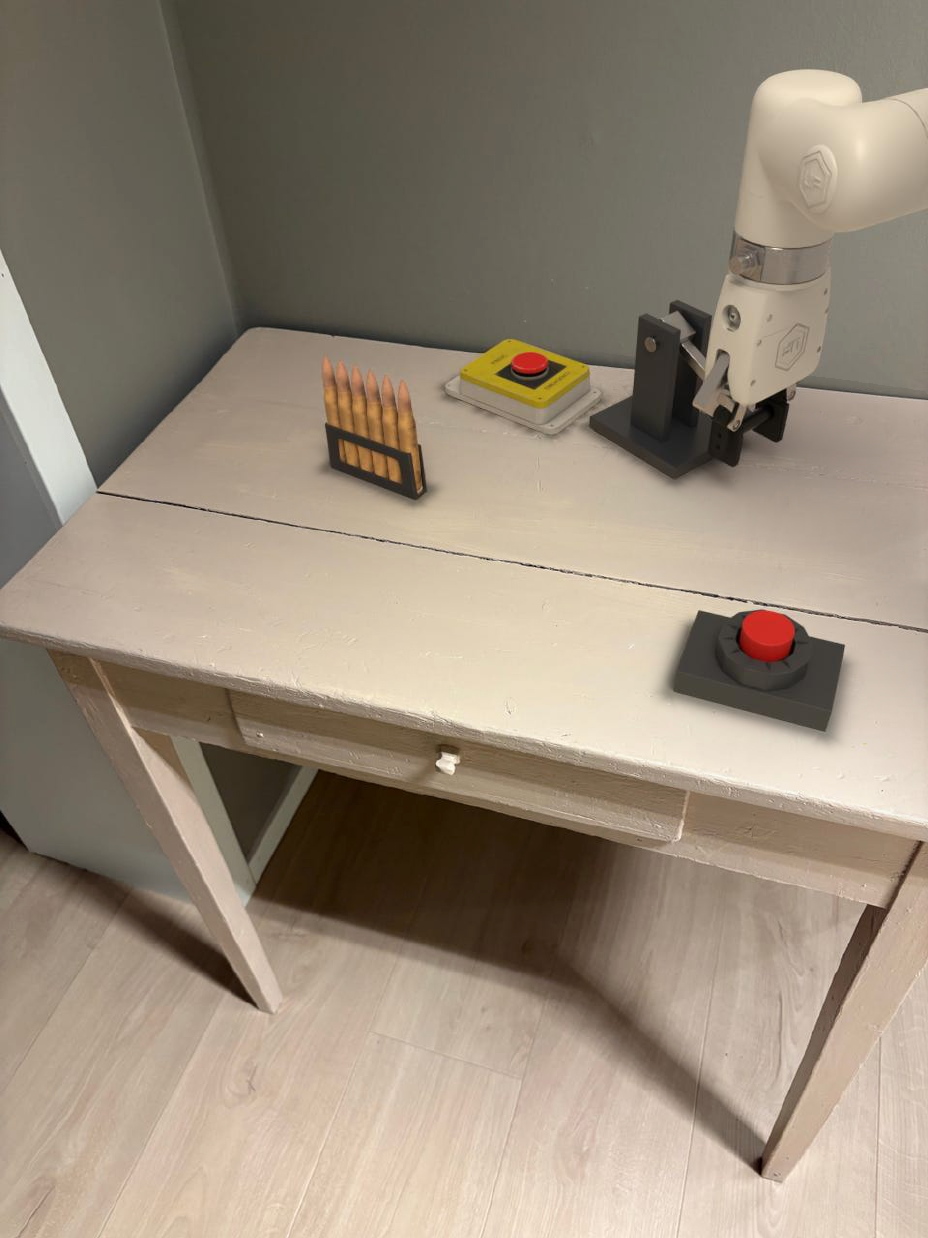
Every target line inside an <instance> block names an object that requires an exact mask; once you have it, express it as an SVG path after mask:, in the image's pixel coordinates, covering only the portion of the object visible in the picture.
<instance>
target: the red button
mask: <svg viewBox="0 0 928 1238" xmlns="http://www.w3.org/2000/svg"><path fill="white" fill-rule="evenodd" d="M782 614H783V613H780V612H778V611H773V610H767V609H763V611H756V612H753V613H751V614H749V615H748V616H747V617H746V618H745V619H744V621H743V625H742V630H741V635H740V640H739V643H740V647H741V649H742V650H743V651H744V653H745V654H747V655H748V656H749V657H751V658H753V659H757V660H761V661H765V662H775V661H779V660H782V659H783V658H785V657H786V656H787V655H788V654H789V652H790V649H791V645H792V641H793V637H794V633H795V629H794V626H793V624H792V622H791V621H790V620H789V619H788V618H786V617H785V616H783V615H782Z"/></svg>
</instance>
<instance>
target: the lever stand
mask: <svg viewBox="0 0 928 1238" xmlns="http://www.w3.org/2000/svg"><path fill="white" fill-rule="evenodd" d="M668 307H669V309H668V315H669V314H672V313H674V312H676V311H678V312H679V313H680V314H681V315H682V316H683V318H684V319H685V320H686V321H687V322H688V323H689V324H690V326H691V327H692V328H693V329H694V330H695V331H696V334H695V335H694V337H693V338H692V340H691V342H692V343H693V345H694V346H695V347H696V348H697V349H698V350H699V352H700V353H701V354H702V355H703V356H704V357H705V358H706V357H707V350H708V344H709V339H710V334H711V329H712V322H713V315H712V314H709V313H708V312H705V311H703V310H701V309H699V308H697V307H695V306H692V305H690V304H688V303H686V302H684V301H681V300H679V299H675V300H673V301H671V302H669V306H668ZM680 335H681V330H680V329H678V328H676V327H674V326H672V325H670V324H668V323H665V322H663V321H661V320H660V318H657V317H655V316H652V315H651V314H649V313H647V312H646V313H643V314H641V315H639V316H638V320H637V334H636V347H635V360H634V372H633V374H634V375H633V384H632V395H631V396H629V397H626V398H624V399H622V400H620V401H618V402H615V403H614V404H612V405H609V406H608V407H605V408H604V409H602V410H600V411H598V412H595V413H593V414H591V415H589V419H588V420H589V422H588V427H589V428H590V429H592V430H593V431H595V432H597V433H598V434H600V435H601V436H603V437H605V438H606V439H608V440H610V441H611V442H613V443H615V444H616V445H618V446H619V447H621V448H622V449H624V450H626V451H627V452H629V453H631V454H632V455H634V456H635V457H637V458H639V459H641V460H643V461H644V462H646V464H649V465H651V466H652V467H654V468H656V469H657V470H658V471H660V472H662V473H663V474H665V475H667V476H669V477H670V478H672V480H673V479H674V480H675V479H677V478H679V477H681V476H683V475H685V474H686V473H688V472H690V471H692V470H694V469H696V468H698V467H699V466H701V465H703V464H704V463H706V462H709V461H710V460H712V459H715V458H714V457H713V456H711V455H710V454H709V453H708V445H709V439H710V432H711V425H712V420H711V419H709V418H708V416H707V415H706V414H705V413H704V412H703V411H701V410H699V409H697V408H696V407H694V406H693V400H694V398H695V397H696V395H697V393H698V392H699V390H700V388H701V386H702V385H703V383H704V381H703V380H702V379H701V378H700V377H699V376H698V374H697V373H696V372H695V371H694V370H693V369H692V368H691V366H690V365H689V364H688V363H687V362H686V361H685V359H684V358H683V357H682V356H681V355H680V354H679V353H678V352H679V344H680Z"/></svg>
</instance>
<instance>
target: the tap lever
mask: <svg viewBox="0 0 928 1238" xmlns="http://www.w3.org/2000/svg"><path fill="white" fill-rule="evenodd" d="M659 320H661V321H663V322H665V323H668V324H670V325H672V326H674V327H676V328H678V329H680V330H681V335H680V344H679V352H678V353H679V354H680V355H681V356H682V357H683V358H684V359H685V361H686V362H687V363H688V364H689V365H690V366H691V368H692V369H693V370H694V371H695V372H696V373H697V374H698V376H699V377H700V378H701V379H702V380H703V382H704V381H705V365H706V358H705V357H704V356H703V355H702V354H701V353H700V352H699V350H698V349H697V348H696V347H695V346H694V345H693V343H692V342H691V340H692V338H693V337H694V335H695V334H696V331H695V330H694V329H693V328H692V327H691V326H690V324H689V323H688V322H687V321H686V320H685V319H684V318H683V316H682V315H681V314H680V313H679V312H678V311H676V312H674V313H672V314H669V313H668V314H667V315H665V316H663V317H660V318H659ZM735 402H736V401H734V400H733V399H731V398H729V397H727V400H726V402H725V405H724V407H726V408H727V409H728V410H729V411H730V412H731V413H732V410H733V407H734V404H735ZM773 417H774V410H773V408H772V407H771V406H770V405H768V404H765V405H763V406H761V407H759V408H757V409H755V408H754V410H751V409H750V408H749V406H747V409H746V411H745V414H744V417H743V420H742V422H741V425H740V426H742V427H743V428H745V431H744V435H745V434H747V433H749V432H750V431H753V430H752V429H754V428H756V427H758V426H759V425H761V424H763V423H765V422H767V421H769V420H770V419H772V418H773Z"/></svg>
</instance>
